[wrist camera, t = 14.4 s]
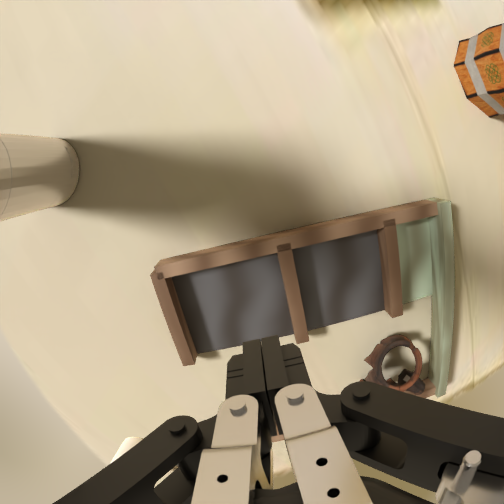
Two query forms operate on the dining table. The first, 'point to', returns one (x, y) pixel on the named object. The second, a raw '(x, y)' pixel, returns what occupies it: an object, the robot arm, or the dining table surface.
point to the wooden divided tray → (315, 282)
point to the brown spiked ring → (406, 378)
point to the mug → (483, 69)
